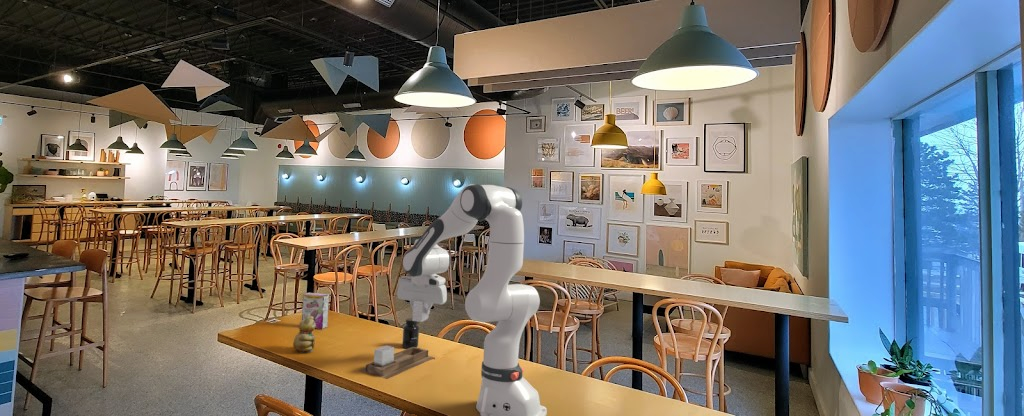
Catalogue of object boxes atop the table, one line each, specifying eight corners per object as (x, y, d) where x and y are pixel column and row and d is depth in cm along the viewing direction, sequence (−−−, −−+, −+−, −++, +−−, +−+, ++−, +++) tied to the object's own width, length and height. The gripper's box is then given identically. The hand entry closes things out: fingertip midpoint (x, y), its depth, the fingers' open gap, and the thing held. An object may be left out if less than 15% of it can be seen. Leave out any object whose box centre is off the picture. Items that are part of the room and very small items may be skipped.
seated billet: (393, 368, 170) (394, 347, 170) (381, 373, 165) (382, 351, 165) (385, 366, 172) (386, 345, 172) (373, 371, 167) (374, 349, 166)
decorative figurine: (315, 353, 186) (316, 317, 186) (292, 355, 183) (294, 318, 183) (314, 346, 195) (315, 311, 195) (292, 348, 192) (294, 312, 191)
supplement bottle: (414, 349, 197) (415, 322, 197) (399, 348, 198) (400, 320, 198) (420, 345, 204) (421, 318, 203) (406, 343, 205) (407, 316, 205)
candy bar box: (300, 328, 221) (302, 294, 221) (306, 325, 226) (308, 292, 226) (322, 329, 220) (323, 295, 219) (328, 327, 225) (329, 293, 224)
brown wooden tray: (434, 361, 184) (435, 351, 184) (387, 383, 160) (387, 371, 160) (407, 354, 191) (408, 344, 190) (358, 374, 167) (358, 363, 167)
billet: (428, 318, 183) (429, 298, 183) (421, 322, 178) (422, 301, 177) (419, 316, 184) (420, 297, 184) (412, 320, 179) (413, 300, 178)
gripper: (395, 276, 180) (393, 311, 181) (442, 282, 175) (440, 317, 175) (402, 274, 186) (401, 307, 187) (449, 279, 181) (447, 314, 181)
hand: (420, 312), depth 181 cm, fingers closed on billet, 4 cm apart
